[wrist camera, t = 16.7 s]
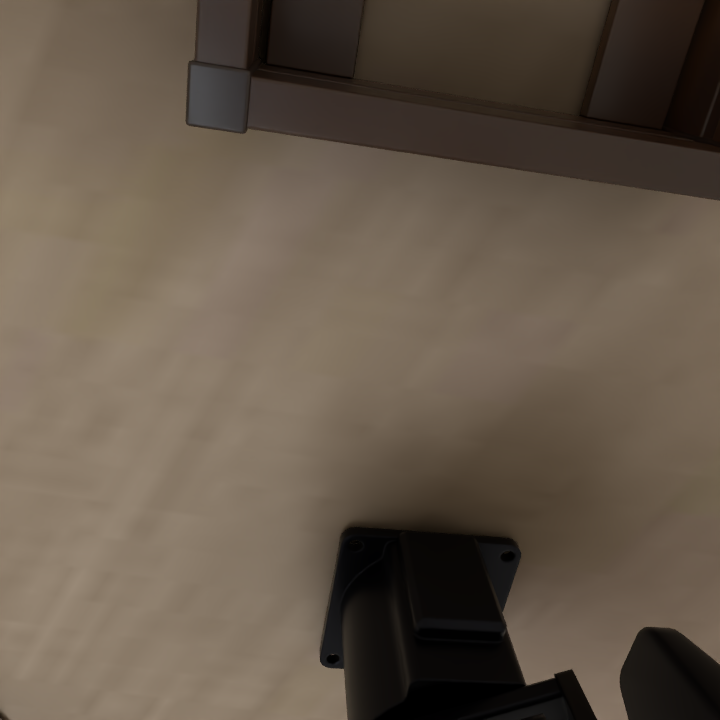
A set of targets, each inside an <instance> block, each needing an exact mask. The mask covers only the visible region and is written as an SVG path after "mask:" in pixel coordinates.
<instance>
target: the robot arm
mask: <svg viewBox="0 0 720 720" xmlns="http://www.w3.org/2000/svg"><path fill="white" fill-rule="evenodd" d="M355 540H357V541H360V542H359V543H357V544H351V543H350V542H352V541H355ZM505 551H510V552H509V553H507V554H502V553H504V552H505ZM520 558H521V552H520V549H519V547H518V545H517V542H516V541H514V540H513V539H510V538H500V537H487V536H473V535H459V534H445V533H431V532H418V531H404V530H390V529H376V528H362V527H352V528H349V529H347V530H345V531H344V532H343V533H342V535H341V537H340V542H339V548H338V553H337V559H336V564H335V569H334V575H333V580H332V586H331V591H330V596H329V602H328V607H327V613H326V618H325V623H324V629H323V634H322V640H321V645H320V662H321V664H322V665H323V666H325V667H328V668H340V669H344V675H345V689H346V703H347V717H348V720H597V719H596V717H595V715H594V712H593V710H592V708H591V706H590V704H589V702H588V700H587V698H586V696H585V694H584V692H583V690H582V688H581V686H580V684H579V682H578V680H577V678H576V676H575V674H574V672H573V670H572V669H571V670H567V671H564V672H560V673H557V674H554V676H555V678H552V679H548V680H545V681H541V682H538V683H534V684H531V685H527V686H526V683H525V680H524V677H523V674H522V671H521V668H520V666H519V663H518V660H517V657H516V654H515V651H514V648H513V645H512V642H511V639H510V637H509V634H508V631H507V625H506V622H505V619H504V616H503V613H502V612H503V609H504V606H505V603H506V600H507V597H508V594H509V591H510V588H511V585H512V582H513V579H514V576H515V573H516V570H517V567H518V564H519V561H520ZM331 654H335V655H331ZM620 688H621V693H622V697H623V700H624V704H625V708H626V711H627V715H628V719H629V720H720V664H718V663H717V662H716V661H715V660H713V659H712V658H711V657H710V656H708V655H707V654H706V653H705V652H704V651H702V650H701V649H700V648H699V647H697V646H696V645H695V644H694V643H692V642H691V641H690V640H689V639H687V638H686V637H685V636H684V635H683V634H681V633H680V632H678V631H677V630H675V629H671V628H659V627H645V628H643V629H642V630H640V631H639V632H638V634H637V636H636V638H635V641H634V643H633V645H632V647H631V649H630V651H629V654H628V656H627V658H626V660H625V662H624V665H623V667H622V669H621V674H620Z"/></svg>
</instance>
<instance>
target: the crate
mask: <svg viewBox="0 0 720 720" xmlns="http://www.w3.org/2000/svg"><path fill="white" fill-rule="evenodd" d="M364 1H365V0H271V9H270V20H269V31H268V42H267V53H266V64H263V63H262V60H261V59H259V58H258V57H259V45H260V34H261V23H262V11H263V0H198V1H197V21H196V40H195V59H194V60H191V61H189V63H188V78H187V100H186V124H187V125H189V126H194V127H201V128H207V129H214V130H221V131H227V132H234V133H240V134H244V133H246V131H247V129H254V130H261V131H267V132H274V133H280V134H287V135H294V136H300V137H307V138H313V139H320V140H326V141H333V142H339V143H346V144H353V145H359V146H366V147H372V148H379V149H385V150H392V151H399V152H405V153H412V154H418V155H425V156H431V157H438V158H444V159H451V160H458V161H464V162H471V163H477V164H484V165H490V166H497V167H504V168H510V169H517V170H523V171H530V172H536V173H543V174H549V175H556V176H563V177H569V178H576V179H582V180H589V181H595V182H602V183H609V184H615V185H622V186H628V187H635V188H641V189H648V190H654V191H661V192H668V193H674V194H681V195H687V196H694V197H700V198H707V199H714V200H720V0H612V2H611V6H610V9H609V13H608V16H607V20H606V23H605V27H604V30H603V34H602V38H601V41H600V45H599V48H598V52H597V55H596V59H595V63H594V66H593V70H592V73H591V77H590V80H589V84H588V87H587V91H586V95H585V98H584V102H583V105H582V109H581V112H580V116H576V115H570V114H564V113H558V112H552V111H546V110H540V109H534V108H528V107H522V106H516V105H510V104H504V103H498V102H492V101H486V100H480V99H474V98H468V97H462V96H456V95H450V94H444V93H438V92H432V91H426V90H420V89H414V88H408V87H401V86H395V85H389V84H383V83H377V82H371V81H365V80H359V79H353V77H354V71H355V64H356V57H357V50H358V43H359V36H360V29H361V22H362V15H363V8H364Z"/></svg>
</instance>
